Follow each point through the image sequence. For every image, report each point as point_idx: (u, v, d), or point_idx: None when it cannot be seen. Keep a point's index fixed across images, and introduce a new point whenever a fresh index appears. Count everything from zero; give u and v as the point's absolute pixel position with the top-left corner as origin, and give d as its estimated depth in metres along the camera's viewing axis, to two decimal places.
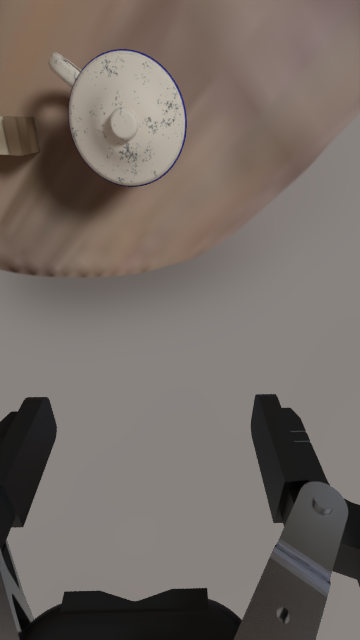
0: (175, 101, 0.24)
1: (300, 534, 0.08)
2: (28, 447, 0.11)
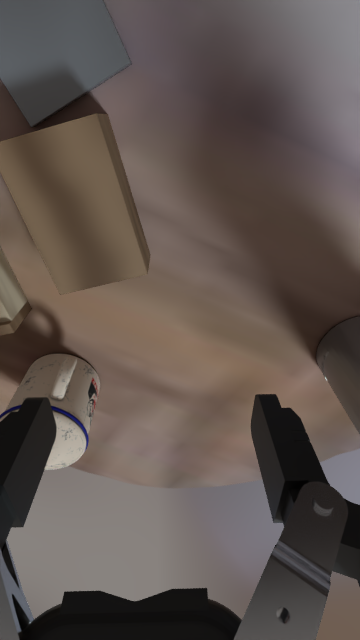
0: (67, 464, 0.34)
1: (300, 534, 0.08)
2: (28, 447, 0.11)
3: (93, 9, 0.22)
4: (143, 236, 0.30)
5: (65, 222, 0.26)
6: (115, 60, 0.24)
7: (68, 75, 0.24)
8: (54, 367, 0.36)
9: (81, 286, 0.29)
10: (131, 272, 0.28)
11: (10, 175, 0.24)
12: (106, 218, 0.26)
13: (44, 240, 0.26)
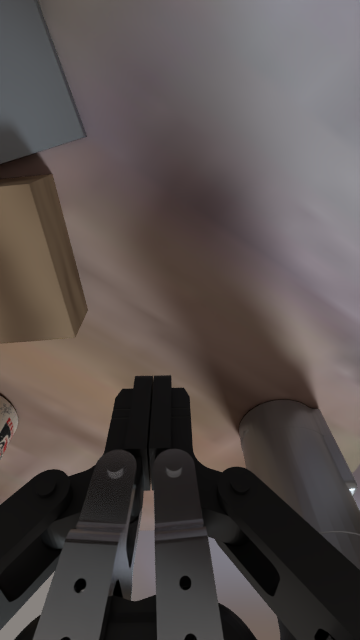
0: None
1: (168, 505, 0.09)
2: (150, 419, 0.12)
3: (51, 80, 0.22)
4: (80, 293, 0.30)
5: None
6: (68, 131, 0.23)
7: (17, 134, 0.23)
8: None
9: (4, 340, 0.27)
10: (58, 333, 0.27)
11: None
12: (34, 281, 0.25)
13: None
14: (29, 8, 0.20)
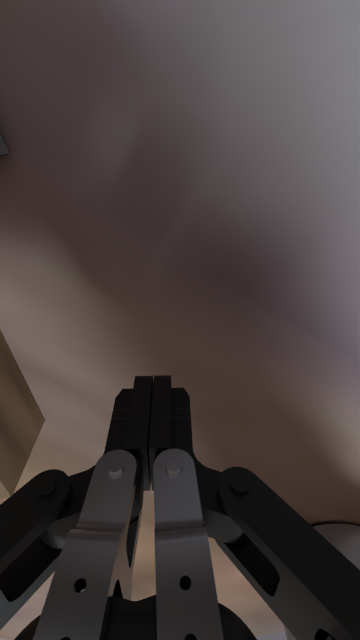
0: None
1: (168, 505, 0.09)
2: (150, 419, 0.12)
3: None
4: (27, 403, 0.18)
5: None
6: None
7: None
8: None
9: None
10: None
11: None
12: None
13: None
14: None
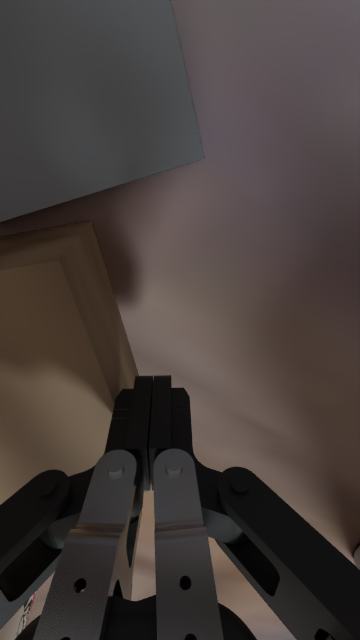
0: None
1: (168, 504, 0.09)
2: (150, 419, 0.12)
3: (153, 43, 0.10)
4: None
5: None
6: (175, 148, 0.12)
7: (74, 155, 0.12)
8: None
9: None
10: None
11: None
12: (77, 421, 0.13)
13: None
14: None
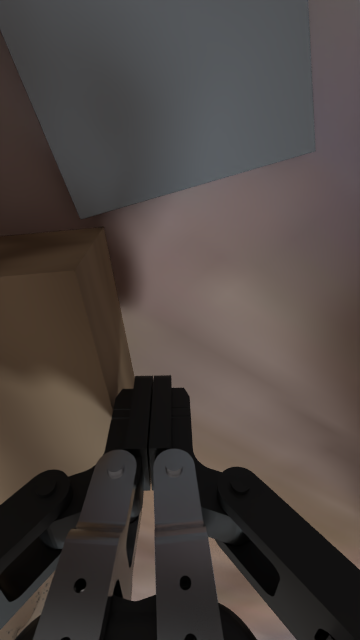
0: None
1: (169, 505, 0.09)
2: (150, 419, 0.12)
3: (282, 32, 0.10)
4: None
5: None
6: (287, 141, 0.12)
7: (184, 146, 0.12)
8: None
9: None
10: None
11: None
12: (73, 428, 0.13)
13: None
14: None
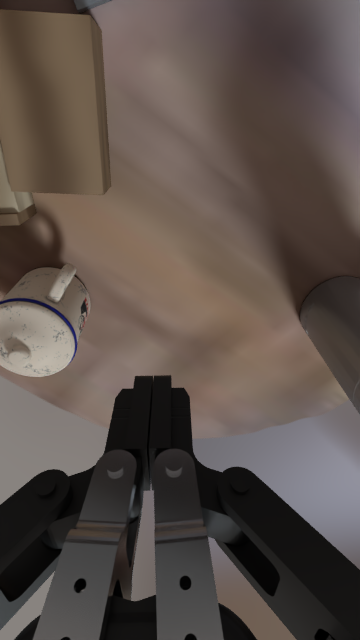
0: (51, 372, 0.34)
1: (168, 505, 0.09)
2: (150, 419, 0.12)
3: None
4: (108, 163, 0.32)
5: (34, 116, 0.26)
6: None
7: None
8: (50, 277, 0.35)
9: (35, 188, 0.29)
10: (88, 188, 0.29)
11: None
12: (76, 124, 0.26)
13: (8, 128, 0.26)
14: None
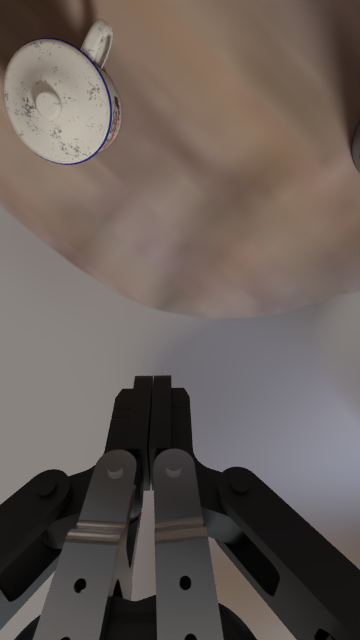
0: (80, 154, 0.29)
1: (168, 505, 0.09)
2: (150, 419, 0.12)
3: None
4: None
5: None
6: None
7: None
8: None
9: None
10: None
11: None
12: None
13: None
14: None
